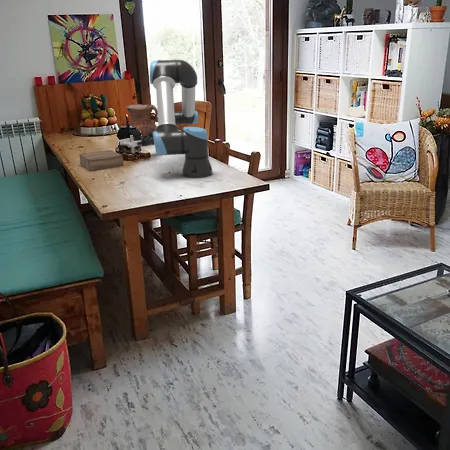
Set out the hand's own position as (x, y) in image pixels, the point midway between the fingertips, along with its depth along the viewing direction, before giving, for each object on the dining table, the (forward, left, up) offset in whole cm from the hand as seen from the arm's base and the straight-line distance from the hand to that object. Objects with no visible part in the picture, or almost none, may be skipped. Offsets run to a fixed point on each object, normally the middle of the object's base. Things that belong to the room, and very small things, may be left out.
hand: (126, 143), depth 259 cm
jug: (+43, -28, -11) cm, 53 cm away
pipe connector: (+1, -4, -6) cm, 8 cm away
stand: (+1, +15, -10) cm, 18 cm away
